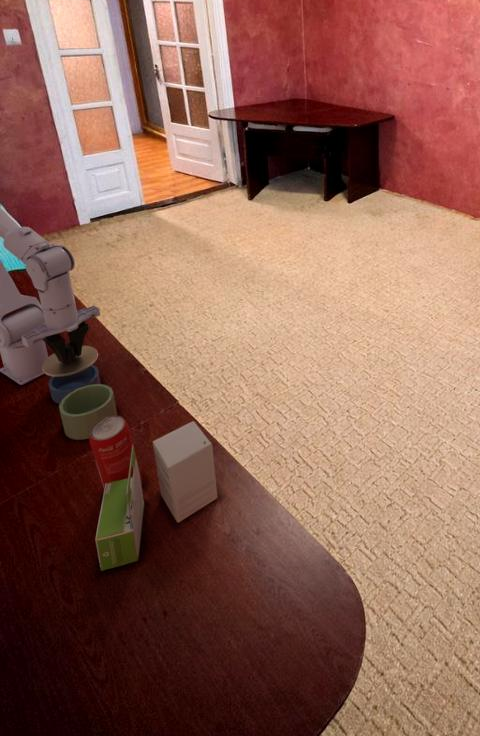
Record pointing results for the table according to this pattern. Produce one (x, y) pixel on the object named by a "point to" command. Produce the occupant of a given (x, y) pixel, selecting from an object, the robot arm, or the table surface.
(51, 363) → the lid
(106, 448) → the beverage can
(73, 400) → the pot
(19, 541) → the table surface
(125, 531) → the ink box
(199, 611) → the table surface
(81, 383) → the pan
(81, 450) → the table surface
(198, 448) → the white packaging box
